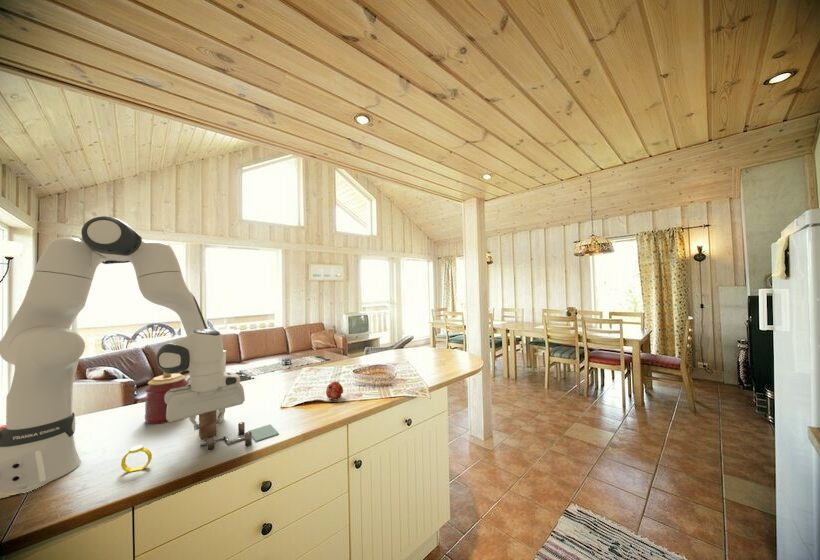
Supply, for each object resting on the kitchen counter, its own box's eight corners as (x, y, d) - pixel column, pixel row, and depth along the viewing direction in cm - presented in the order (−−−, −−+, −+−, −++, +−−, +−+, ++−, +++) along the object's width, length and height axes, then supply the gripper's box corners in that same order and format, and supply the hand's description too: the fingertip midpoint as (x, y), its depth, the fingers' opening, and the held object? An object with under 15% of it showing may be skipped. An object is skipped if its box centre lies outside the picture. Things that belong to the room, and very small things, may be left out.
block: (201, 440, 91) (200, 414, 91) (199, 436, 94) (198, 410, 94) (216, 436, 94) (216, 410, 94) (214, 431, 97) (214, 406, 97)
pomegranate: (332, 400, 134) (317, 392, 127) (341, 384, 137) (327, 375, 130) (342, 406, 129) (327, 397, 122) (351, 390, 132) (337, 380, 126)
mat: (255, 442, 94) (255, 440, 94) (248, 432, 100) (248, 430, 100) (278, 434, 98) (278, 433, 98) (270, 425, 105) (270, 424, 105)
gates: (210, 458, 85) (210, 445, 85) (202, 438, 97) (202, 427, 97) (252, 444, 92) (252, 432, 92) (240, 427, 104) (240, 417, 104)
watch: (120, 476, 78) (118, 454, 78) (125, 470, 81) (123, 448, 81) (149, 469, 80) (147, 447, 80) (153, 463, 83) (151, 442, 83)
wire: (203, 452, 88) (203, 450, 88) (200, 445, 92) (200, 442, 92) (251, 437, 97) (251, 435, 97) (247, 431, 101) (247, 428, 101)
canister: (144, 428, 105) (144, 377, 105) (144, 417, 115) (144, 370, 115) (190, 417, 114) (190, 370, 114) (187, 407, 123) (186, 364, 124)
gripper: (164, 392, 85) (165, 442, 84) (245, 376, 98) (246, 419, 98) (163, 387, 89) (164, 434, 89) (241, 372, 103) (241, 413, 103)
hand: (207, 426), depth 94 cm, fingers closed on block, 4 cm apart
